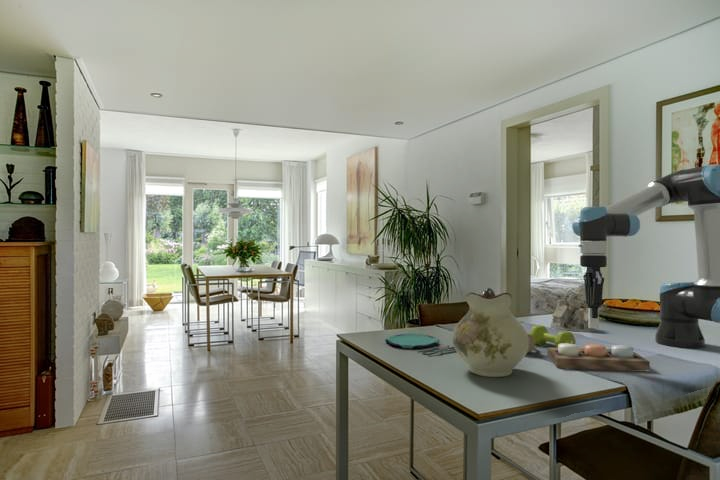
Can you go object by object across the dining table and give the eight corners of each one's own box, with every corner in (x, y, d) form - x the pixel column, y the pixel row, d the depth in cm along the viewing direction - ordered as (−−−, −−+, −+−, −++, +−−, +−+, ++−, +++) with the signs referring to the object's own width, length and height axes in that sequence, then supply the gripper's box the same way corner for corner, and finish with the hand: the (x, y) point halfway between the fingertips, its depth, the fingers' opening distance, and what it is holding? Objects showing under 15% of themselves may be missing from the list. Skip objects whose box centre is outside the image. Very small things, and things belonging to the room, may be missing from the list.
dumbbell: (578, 351, 157) (577, 331, 157) (560, 354, 154) (560, 333, 154) (543, 342, 173) (543, 323, 173) (527, 344, 170) (527, 325, 170)
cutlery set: (418, 336, 187) (418, 330, 187) (466, 352, 161) (466, 346, 161) (377, 342, 178) (377, 336, 178) (421, 361, 151) (421, 354, 151)
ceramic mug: (520, 355, 153) (520, 333, 153) (503, 350, 161) (503, 329, 161) (543, 352, 158) (543, 330, 158) (525, 347, 165) (525, 326, 165)
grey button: (629, 357, 143) (628, 345, 143) (636, 362, 137) (636, 349, 137) (608, 356, 144) (608, 344, 144) (615, 361, 138) (615, 349, 138)
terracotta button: (602, 356, 144) (601, 344, 144) (608, 361, 139) (608, 348, 139) (582, 355, 146) (582, 343, 146) (587, 360, 140) (587, 348, 140)
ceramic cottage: (545, 325, 204) (547, 293, 203) (578, 325, 206) (580, 293, 205) (565, 335, 188) (567, 300, 187) (600, 335, 190) (603, 300, 189)
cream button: (575, 355, 146) (575, 343, 146) (581, 360, 140) (580, 347, 140) (556, 355, 147) (556, 343, 147) (560, 359, 141) (560, 347, 141)
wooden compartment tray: (631, 359, 146) (630, 350, 146) (649, 371, 133) (649, 361, 133) (547, 356, 152) (547, 347, 152) (557, 367, 138) (557, 358, 138)
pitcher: (484, 386, 121) (483, 295, 121) (436, 365, 142) (436, 288, 143) (546, 376, 130) (545, 291, 130) (492, 358, 151) (491, 285, 152)
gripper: (575, 254, 149) (575, 323, 149) (586, 255, 137) (587, 331, 136) (599, 254, 148) (599, 324, 148) (613, 255, 135) (613, 332, 135)
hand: (593, 327), depth 142 cm, fingers closed
